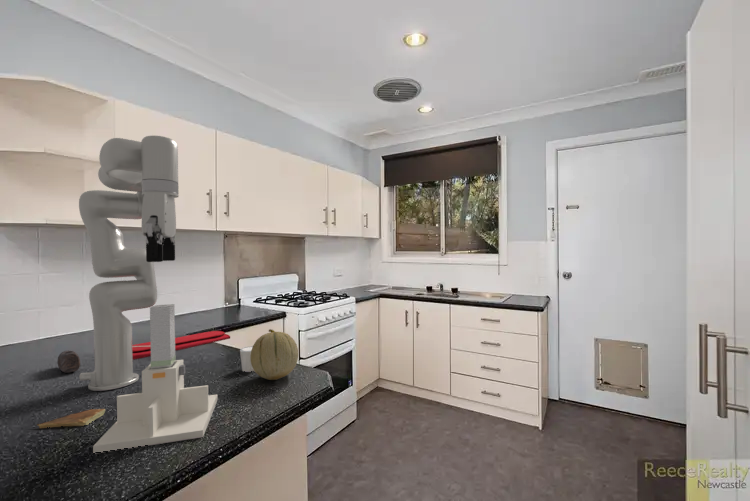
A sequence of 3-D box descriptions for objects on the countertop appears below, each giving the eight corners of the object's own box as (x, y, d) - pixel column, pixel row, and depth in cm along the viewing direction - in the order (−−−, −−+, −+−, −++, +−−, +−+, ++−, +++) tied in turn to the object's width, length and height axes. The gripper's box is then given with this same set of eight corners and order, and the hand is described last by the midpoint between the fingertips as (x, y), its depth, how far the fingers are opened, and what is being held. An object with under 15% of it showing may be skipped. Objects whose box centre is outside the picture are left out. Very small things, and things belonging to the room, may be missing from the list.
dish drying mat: (231, 339, 164) (230, 331, 164) (128, 362, 132) (127, 352, 132) (214, 335, 174) (214, 327, 174) (114, 355, 142) (114, 346, 142)
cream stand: (93, 453, 70) (91, 386, 70) (132, 410, 89) (131, 357, 89) (203, 437, 75) (201, 374, 75) (217, 399, 95) (216, 349, 95)
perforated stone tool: (54, 368, 126) (54, 348, 126) (73, 364, 130) (73, 345, 130) (61, 377, 116) (60, 356, 116) (81, 372, 120) (81, 352, 120)
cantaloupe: (273, 390, 100) (272, 338, 100) (240, 381, 108) (239, 332, 108) (308, 374, 113) (307, 328, 113) (277, 367, 120) (276, 324, 121)
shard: (36, 430, 81) (36, 423, 81) (64, 415, 89) (64, 408, 89) (85, 428, 81) (85, 420, 81) (108, 413, 89) (108, 406, 89)
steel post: (151, 386, 80) (149, 307, 80) (156, 380, 84) (155, 305, 84) (171, 384, 81) (169, 306, 81) (176, 378, 85) (174, 304, 85)
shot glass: (254, 373, 116) (254, 351, 116) (236, 372, 117) (235, 351, 117) (265, 366, 122) (264, 346, 122) (247, 365, 124) (247, 345, 124)
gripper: (155, 195, 91) (156, 260, 91) (127, 182, 75) (128, 262, 75) (186, 195, 93) (187, 260, 93) (167, 183, 77) (168, 262, 77)
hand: (161, 261), depth 84 cm, fingers open, 9 cm apart
